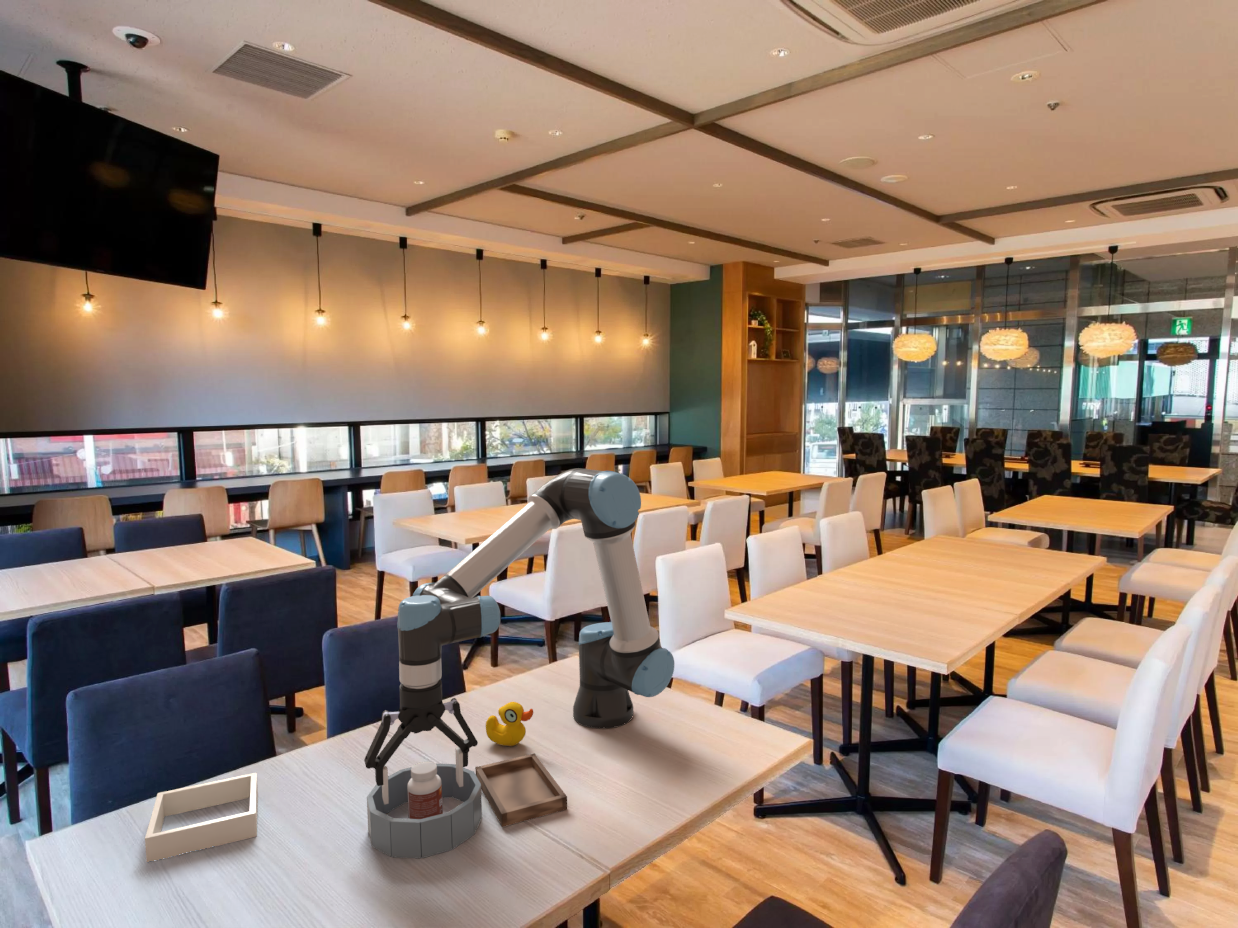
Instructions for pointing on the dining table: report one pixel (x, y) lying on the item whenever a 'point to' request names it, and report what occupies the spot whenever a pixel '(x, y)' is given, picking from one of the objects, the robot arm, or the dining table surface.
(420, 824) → the grey ringed piece
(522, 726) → the duckling
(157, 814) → the open rectangular frame
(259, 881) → the dining table surface
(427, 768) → the pill bottle
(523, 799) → the tray
